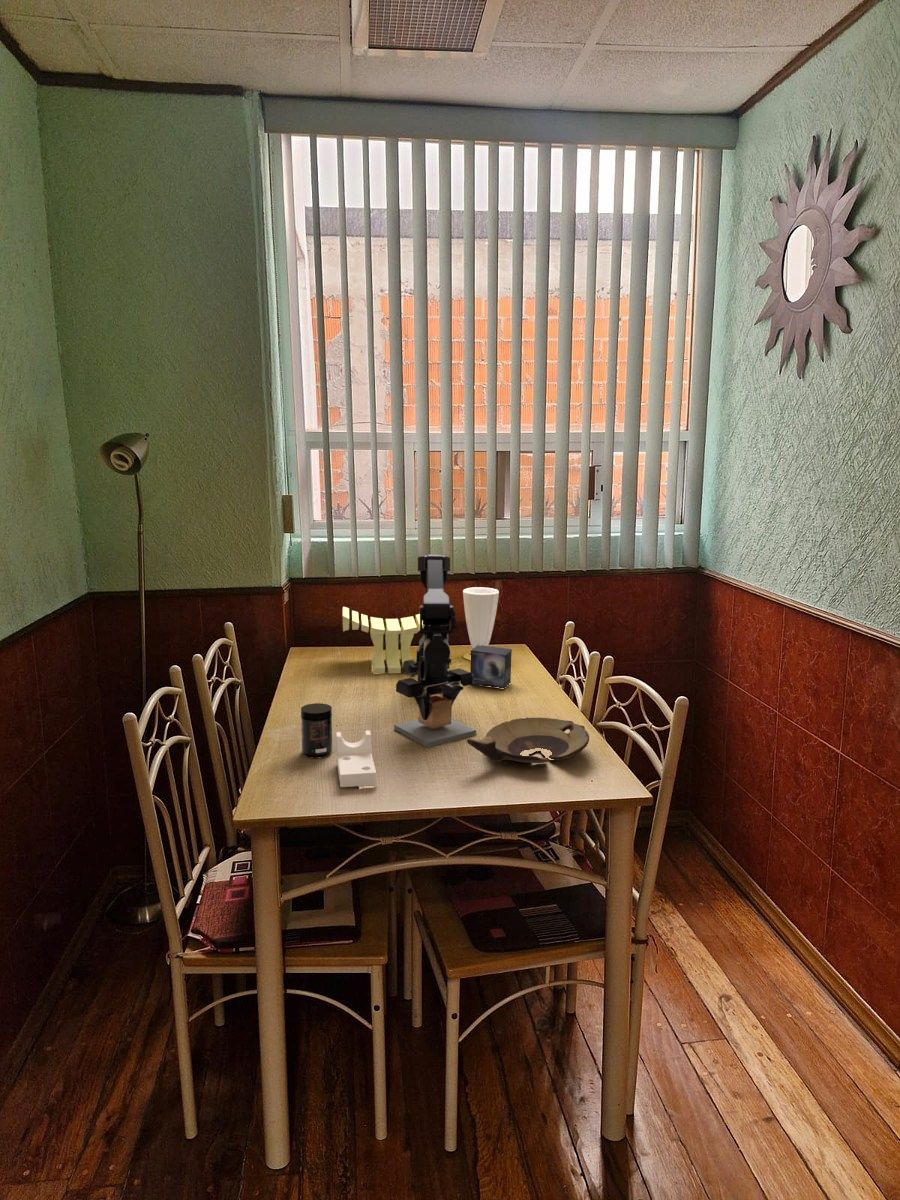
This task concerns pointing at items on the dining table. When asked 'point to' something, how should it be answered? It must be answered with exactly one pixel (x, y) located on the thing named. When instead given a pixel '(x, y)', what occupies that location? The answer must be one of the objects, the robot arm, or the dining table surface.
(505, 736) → the oil lamp
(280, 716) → the dining table surface
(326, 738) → the supplement container
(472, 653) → the small box
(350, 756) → the bracket
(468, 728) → the stand
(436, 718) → the hollow wooden cube
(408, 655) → the slatted curved stool
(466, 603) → the cup
